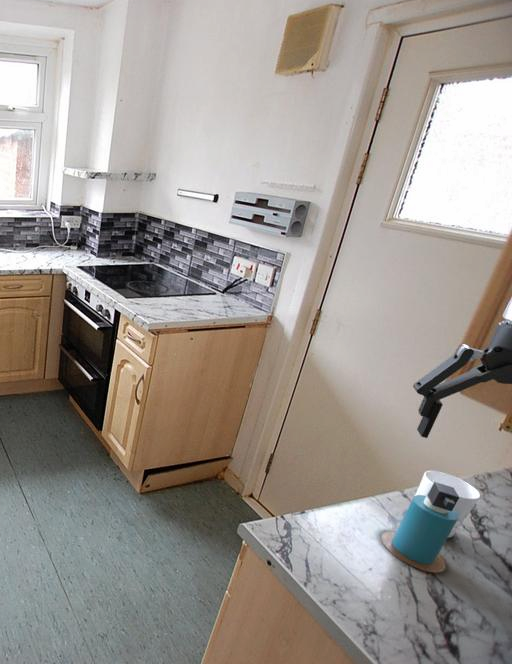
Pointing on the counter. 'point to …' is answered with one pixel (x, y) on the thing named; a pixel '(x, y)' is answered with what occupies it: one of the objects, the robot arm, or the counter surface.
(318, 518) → the counter surface
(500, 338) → the robot arm
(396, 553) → the coaster
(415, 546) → the spray bottle
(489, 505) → the counter surface
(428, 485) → the white cup
